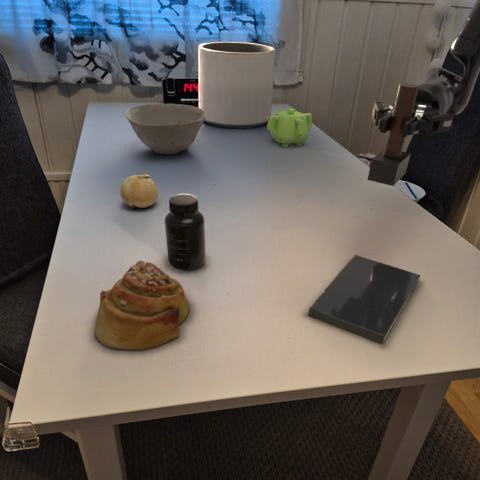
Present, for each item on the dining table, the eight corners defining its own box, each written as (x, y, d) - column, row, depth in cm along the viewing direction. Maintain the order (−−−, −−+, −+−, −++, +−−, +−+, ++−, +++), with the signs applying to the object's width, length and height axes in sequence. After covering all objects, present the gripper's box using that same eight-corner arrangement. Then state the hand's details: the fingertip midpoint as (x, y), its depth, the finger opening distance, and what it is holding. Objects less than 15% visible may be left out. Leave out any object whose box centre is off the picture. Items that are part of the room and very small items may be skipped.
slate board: (353, 261, 83) (355, 254, 82) (418, 282, 78) (420, 274, 77) (308, 315, 70) (309, 307, 69) (382, 344, 65) (384, 336, 64)
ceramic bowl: (116, 159, 121) (111, 120, 115) (145, 135, 139) (142, 100, 133) (195, 167, 119) (194, 127, 113) (214, 141, 137) (214, 106, 131)
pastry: (193, 292, 73) (192, 249, 68) (180, 353, 62) (178, 307, 57) (113, 287, 73) (106, 244, 69) (85, 348, 62) (74, 302, 57)
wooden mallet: (380, 168, 79) (401, 79, 70) (405, 173, 77) (429, 83, 68) (367, 180, 74) (387, 86, 65) (393, 186, 72) (417, 91, 63)
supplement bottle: (178, 249, 84) (174, 188, 77) (211, 256, 83) (211, 194, 75) (161, 267, 79) (155, 203, 72) (196, 275, 77) (194, 210, 70)
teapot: (311, 140, 141) (315, 107, 135) (301, 150, 133) (305, 115, 127) (276, 135, 145) (278, 102, 138) (264, 144, 136) (266, 110, 130)
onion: (139, 215, 95) (135, 183, 90) (114, 205, 98) (110, 173, 94) (166, 204, 100) (163, 172, 96) (141, 194, 104) (138, 164, 99)
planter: (231, 134, 143) (233, 55, 129) (184, 117, 157) (181, 44, 144) (285, 122, 157) (292, 49, 143) (237, 107, 171) (239, 40, 158)
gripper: (389, 78, 80) (355, 94, 69) (471, 89, 75) (449, 109, 63) (380, 122, 85) (346, 144, 73) (456, 136, 79) (433, 162, 68)
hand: (394, 128), depth 68 cm, fingers closed on wooden mallet, 3 cm apart
